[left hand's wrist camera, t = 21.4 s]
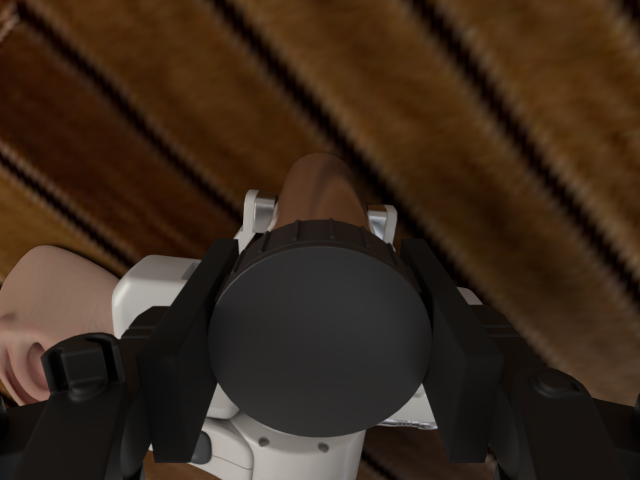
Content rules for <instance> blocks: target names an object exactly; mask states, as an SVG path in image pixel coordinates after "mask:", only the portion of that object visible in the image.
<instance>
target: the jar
mask: <svg viewBox="0 0 640 480" xmlns="http://www.w3.org/2000/svg"><path fill="white" fill-rule="evenodd" d="M329 218H333V220H335V221H342V222H346V223H349V224H353V225H356V226H358V227H361V226H364V227H365V229H366V230H368V231H369V232H371V233H373V234H375V235H376V233H375V230H374V228H373V225H372V222H371V220H370V217H369V215H368V212H367V210H366V207H365V204H364V202H363V199H362V197H361V194H360V191H359V189H358V186H357V184H356V181H355V178H354V176H353V174H352V171H351V170H350V168H349V167H348V165H347V164H346V163H345V162H344V161H343V160H341V159H340V158H338V157H336V156H334V155H332V154H328V153H312V154H308V155H306V156H304V157H302V158H300V159H299V160H297V161H296V162H295V163H294V164H293V165H292V167H291V168H290V170H289V171H288V174H287V176H286V179H285V181H284V184H283V186H282V189H281V191H280V194H279V197H278V199H277V202H276V204H275V207H274V210H273V212H272V215H271V217H270V220H269V223H268V225H267V228H266V230H265V232H266V231H268V230H269V232H271V231H273V230H274V229H276V228H279V227H282V226H284V225H287V224H290V223H294V222H295V221H296V220H298V219H299V220H300V221H304V220H313V219H328V220H329ZM264 234H265V233H264ZM376 236H377V235H376Z"/></svg>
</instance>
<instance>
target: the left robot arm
mask: <svg viewBox="0 0 640 480" xmlns="http://www.w3.org/2000/svg"><path fill="white" fill-rule="evenodd" d="M238 257H239V242H238V239H216V240H215V242H214V243H213V244H212V246H211V247H210V249H209V250H208V252H207V253H206V255H205V256H204V257H203V259H202V260H201V262H200V263H199V265H198V266H197V268H196V269H195V270H194V272H193V273H192V275H191V276H190V278H189V279H188V281H187V282H186V284H185V285H184V286H183V288H182V289H181V291H180V292H179V294H178V295H177V297H176V298H175V299H174V301H173V302H172V304H171V305H170V306H152V307H150V308H149V309H147V310H146V311H144V312H142V313H141V314H139V315H138V316H137V317H136V318H135V319H134V321H133V322H132V323H131V324H130V326H129V327H128V329H126V331H125V332H124V333H123V334H122V335H121V339H118V338H116V337H115V336H114V335H112V334H109V333H104V332H92V333H85V334H80V335H76V336H73V337H70V338H68V339H65V340H63V341H60V342H58V343H57V344H55V345H54V346H52V347H50V348H49V349H47V351H46V352H45V353H44V354H43V355H42V356H41V357H40V359H41V363H42V367H43V370H44V374H45V377H46V381H47V384H48V388H49V391H50V396H49V398H48V400H44V401H40V402H36V403H31V404H27V405H22V406H17V407H12V408H8V409H6V408H5V405H4V402H3V399H2V397H1V396H0V480H146V478H145V471H144V466H143V460H144V458H145V455H146V453H147V451H148V449H149V447H150V445H151V444H152V450H153V455H154V460H155V463H190V462H191V459H192V456H193V453H194V450H195V447H196V444H197V442H198V439H199V436H200V433H201V430H202V427H203V424H204V421H205V418H206V416H207V413H208V410H209V407H210V404H211V401H212V398H213V395H214V392H215V390H216V387H217V384H218V382H217V380H216V378H215V376H214V373H213V371H212V369H211V365H210V359H209V350H208V341H207V332H208V326H209V322H210V317H211V315H212V312H213V310H214V307H215V305H216V303H215V302H214V300H215V297H216V295H217V293H218V291H219V289H220V287H221V285H222V283H223V281H224V279H225V277H226V275H227V274H229V275H230V274H231V272H232V270H233V268H234V266H235V264H236V261H237V259H238ZM400 258H401V260H402V261H403V262H404V264H405V266H407V265H409V267H410V269H411V271H412V273H413V275H414V277H415V279H416V281H417V283H418V285H419V287H420V289H421V291H422V292H421V293H419V294H420V296H421V298H422V300H423V303H424V305H425V307H426V309H427V312H428V315H429V318H430V321H431V326H432V332H433V338H432V348H431V357H430V365H429V368H428V371H427V374H426V376H425V378H424V380H423V382H422V385H423V387H424V390H425V393H426V396H427V399H428V402H429V405H430V408H431V411H432V413H433V416H434V419H435V422H436V425H437V428H438V431H439V434H440V436H441V439H442V442H443V445H444V448H445V451H446V454H447V457H448V460H449V462H450V463H485V459H486V454H487V448H488V443H490V445H491V448H492V450H493V452H494V454H495V456H496V458H497V460H498V461H497V466H496V471H495V476H494V480H640V394H639V395H638V398H637V401H636V404H635V407H632V406H627V405H622V404H617V403H613V402H608V401H603V400H599V399H595V398H592V397H591V395H590V393H589V392H588V391H587V389H586V388H585V387H584V385H583V384H581V383H580V382H579V381H577V380H576V379H575V378H573V377H572V376H570V375H568V374H566V373H564V372H561V371H559V370H556V369H553V368H549V367H545V366H544V365H543V364H542V362H541V361H540V360H539V359H538V357H537V356H536V355H535V354H534V353H533V351H532V350H531V349H530V348H529V346H528V345H527V344H526V343H525V341H524V340H523V339H522V338H521V337H519V334H518V333H517V332H516V330H515V329H514V328H512V325H511V324H510V323H509V322H508V320H507V319H506V318H505V317H504V315H503V314H501V313H500V312H498V311H497V310H495V309H493V308H492V307H490V306H489V305H469V304H468V303H467V301H466V300H465V298H464V297H463V296H462V294H461V293H460V291H459V290H458V288H457V287H456V285H455V284H454V282H453V281H452V280H451V278H450V277H449V275H448V274H447V272H446V271H445V269H444V268H443V267H442V265H441V264H440V262H439V261H438V259H437V258H436V256H435V255H434V253H433V252H432V251H431V249H430V248H429V246H428V245H427V243H426V242H425V240H424V239H401V252H400Z"/></svg>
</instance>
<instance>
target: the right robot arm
mask: <svg viewBox="0 0 640 480" xmlns="http://www.w3.org/2000/svg"><path fill="white" fill-rule="evenodd" d="M277 199H278V193H273V192H266V191H259V190H249V191H248V193H247V194H246V198H245V203H244V220H243V226H242V227H241V229H240V230H239V231H238V233H237V234H236V236H235V237H234V238H233V239H238V242H239V255H240V253H241V251H242V250H243V249H244V250H245V251H246V250H247V249H245V247H246V246H247V245H248V243H249V242H250V240H251V239H252V238H253V236H254V235H255V233H256V232H257V233H265V230H266V228H267V225H268V223H269V220H270V217H271V215H272V212H273V210H274V207H275V204H276V202H277ZM365 207H366V210H367V212H368V215H369V217H370V220H371V222H372V225H373V228H374V230H375V233H376V235H377V236H378V237H379V238H381V239H382V240H383V241H385V242H386V243H388V242H390V243H391V244H392V243H393V238H394V233H395V227H396V222H397V211H396V209H395V208H394V206H391V205H382V204H372V203H365ZM392 246H393V244H392ZM393 249H394V246H393ZM394 251H395V249H394ZM395 252H396V251H395ZM200 262H201V260H197V259H188V258H179V257H169V256H160V255H149V256H147V257H145V258H143V259H142V260H141V261H140V262H139V263H137V264H136V265H135V266H134V267H133V268H131V269H130V270H129V271H128V272H127V273H126V274H125V275H124V276H123V278H122V279H121V280H120V281H119V282H118V284H117V285H116V287H115V289H114V291H113V294H112V319H113V328H114V336H115V337H116V338H118V339H121V335H122V334H123V333H124V332H125V331H126V329H128V327H129V326H130V324H131V323H132V322H133V321H134V319H135V318H136V317H137V316H138V315H139V314H141V313H142V312H144V311H146V310H147V309H149V308H150V307H152V306H170V305H171V304H172V302H173V301H174V299H175V298H176V297H177V295H178V294H179V292H180V291H181V289H182V288H183V286H184V285H185V284H186V282H187V281H188V279H189V278H190V276H191V275H192V273H193V272H194V270H195V269H196V268H197V266H198V265H199V263H200ZM457 288H458V290H459V291H460V293H461V294H462V296H463V297H464V298H465V300H466V301H467V303H468V304H469V305H483V304H482V303H481V301H480V300H479V299H478V298H477V297H476V295H475V294H474V293H473V292H472V291H471V290H469V289H467V288H461V287H457ZM377 425H379V426H389V427H400V426H408V427H409V426H410V427H416V428H418V429H422V430H434V429H438V428H437V425H436V422H435V419H434V416H433V413H432V411H431V408H430V405H429V402H428V399H427V396H426V393H425V390H424V387H423V385H422V384H421V385H420V387H419V389H418V390H417V392H416V393H415V394H414V395H413V397H412V398H411V399H410V400H409V401H408V403H406V404H405V405H404V406H403V407H402V408H401V409H400V410H399V411H398V412H396V413H395V414H394V415H392V416H391V417H389V418H388V419H386V420H384V421H383V422H381V423H379V424H377ZM365 432H366V430H363V431H360V432H356V433H353V434H349V435H344V436H338V437H328V438H312V437H302V436H296V435H291V434H287V433H283V432H280V431H277V430H274V429H272V428H269V427H267V426H265V425H263V424H261V423H259V422H257V421H256V420H254V419H252V418H251V417H249V416H248V415H246V414H245V413H244V412H242V411H241V410H240V409H239V408H238V407H237V406H236V405H235V404H234V403H233V402H232V401H231V400H230V399H229V398H228V397H227V395H226V394H225V393H224V392H223V390H222V389H221V387H220V385H219V384H217V387H216V390H215V392H214V395H213V398H212V401H211V404H210V407H209V410H208V413H207V416H206V418H205V421H204V424H203V427H202V430H201V433H200V436H199V439H198V442H197V444H196V447H195V450H194V453H193V456H192V459H191V462H190V463H189V464H191V465H194V466H196V467H198V468H201V469H203V470H205V471H207V472H209V473H211V474H213V475H215V476H217V477H218V478H220V479H222V480H356V476H357V472H358V467H359V462H360V457H361V452H362V447H363V442H364V437H365ZM149 450H152V444H151V445H150V447H149ZM152 451H153V450H152Z"/></svg>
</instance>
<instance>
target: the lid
mask: <svg viewBox="0 0 640 480" xmlns="http://www.w3.org/2000/svg"><path fill="white" fill-rule="evenodd" d="M421 292H422V291H421V289H420V287H419V285H418V283H417V281H416V279H415V277H414V275H413V273H412V271H411V269H410V267H409V265H407V266H405V264H404V262H403V261H402V260H401V258H400V257H399V256H398V254H397V253H396V252H395V251H394V249H393V246H392V244H391V243H390V242H388V243H386V242H385V241H383V240H382V239H381V238H379V237H378V236H376V235H375V234H373V233H371V232H369V231H368V230H366V229H365V227H364V226H361V227H358V226H356V225H353V224H349V223H346V222H342V221H335V220H333V218H329V220H328V219H313V220H304V221H300V220H299V219H298V220H296V221H295V222H294V223H290V224H287V225H284V226H282V227H279V228H276V229H274V230H273V231H271V232H269V230H268V231H266V232H265V234H264V236H262V237H261V238H259V239H258V240H257V241H255V242H254V243H253V244H252V245H251V246H250V247H249V248H248V249H247V250H246V251H245V250H244V249H243V250H242V251H241V253H240V255H239V257H238V259H237V261H236V264H235V266H234V268H233V270H232V272H231V274H230V275H229V274H227V275H226V277H225V279H224V281H223V283H222V285H221V287H220V289H219V291H218V293H217V295H216V297H215V300H214V302H215V303H216V305H215V307H214V310H213V312H212V315H211V317H210V322H209V326H208V332H207V341H208V350H209V359H210V365H211V369H212V371H213V373H214V376H215V378H216V380H217V382H218V384H219V385H220V387H221V389H222V390H223V392H224V393H225V394H226V395H227V397H228V398H229V399H230V400H231V401H232V402H233V403H234V404H235V405H236V406H237V407H238V408H239V409H240V410H241V411H242V412H244V413H245V414H246V415H248V416H249V417H251V418H252V419H254V420H256V421H257V422H259V423H261V424H263V425H265V426H267V427H269V428H272V429H274V430H277V431H280V432H283V433H287V434H291V435H296V436H302V437H312V438H328V437H338V436H344V435H349V434H353V433H356V432H360V431H363V430H366V429H368V428H371V427H373V426H375V425H377V424H379V423H381V422H383V421H384V420H386V419H388V418H389V417H391V416H392V415H394V414H395V413H396V412H398V411H399V410H400V409H401V408H402V407H403V406H404V405H405V404H406V403H408V401H409V400H410V399H411V398H412V397H413V395H414V394H415V393H416V392H417V390H418V389H419V387H420V385H421V384H422V382H423V380H424V378H425V376H426V374H427V371H428V368H429V365H430V357H431V348H432V338H433V332H432V326H431V321H430V318H429V315H428V312H427V309H426V307H425V305H424V303H423V300H422V298H421V296H420V294H419V293H421Z"/></svg>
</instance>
